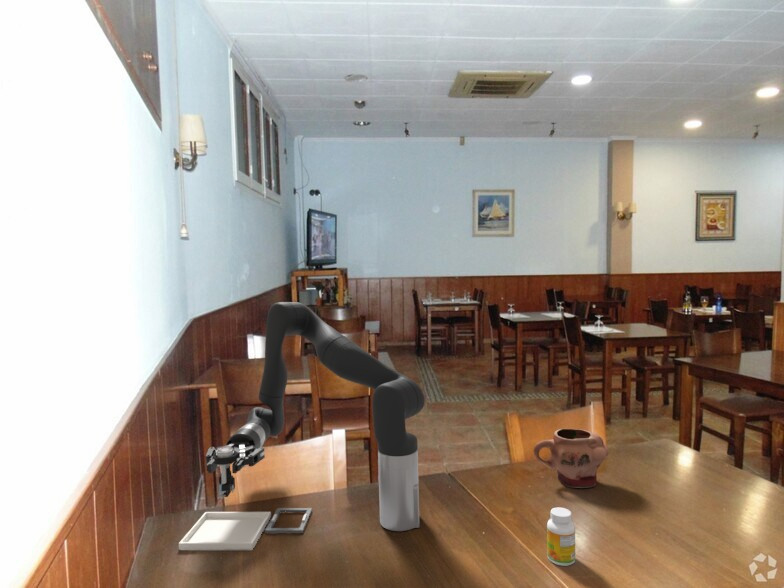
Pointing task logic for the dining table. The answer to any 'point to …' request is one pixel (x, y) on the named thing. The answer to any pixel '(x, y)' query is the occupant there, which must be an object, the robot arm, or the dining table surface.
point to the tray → (226, 531)
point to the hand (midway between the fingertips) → (221, 469)
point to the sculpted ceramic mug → (574, 456)
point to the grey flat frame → (272, 530)
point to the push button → (225, 470)
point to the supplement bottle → (561, 537)
